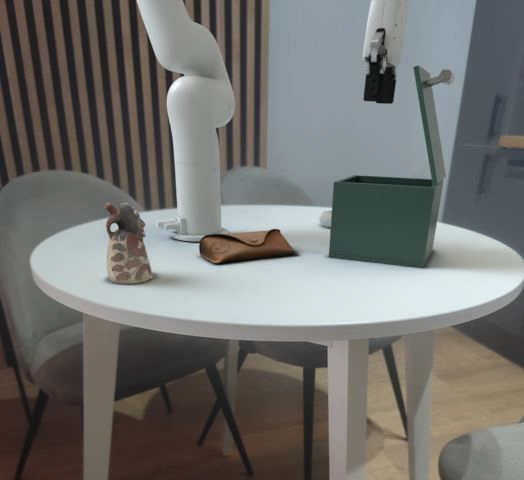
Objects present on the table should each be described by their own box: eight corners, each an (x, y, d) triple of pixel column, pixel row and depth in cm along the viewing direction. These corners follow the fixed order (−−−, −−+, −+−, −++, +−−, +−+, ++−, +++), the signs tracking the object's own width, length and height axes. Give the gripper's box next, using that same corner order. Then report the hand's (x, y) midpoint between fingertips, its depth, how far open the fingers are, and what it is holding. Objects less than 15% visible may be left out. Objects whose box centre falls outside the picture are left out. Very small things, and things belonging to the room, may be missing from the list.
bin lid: (413, 67, 78) (446, 54, 76) (425, 74, 90) (454, 64, 88) (432, 185, 83) (464, 177, 81) (441, 177, 96) (469, 170, 93)
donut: (320, 230, 120) (362, 230, 120) (321, 215, 118) (363, 215, 118) (317, 222, 129) (356, 222, 129) (317, 209, 127) (356, 208, 127)
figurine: (154, 282, 79) (148, 205, 74) (108, 285, 78) (98, 206, 72) (150, 270, 86) (144, 198, 81) (107, 273, 84) (98, 199, 79)
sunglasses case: (216, 263, 88) (208, 227, 89) (204, 274, 95) (196, 240, 95) (301, 252, 96) (293, 219, 97) (284, 263, 103) (276, 232, 103)
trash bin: (328, 257, 96) (333, 181, 90) (348, 242, 108) (353, 175, 102) (422, 267, 89) (434, 187, 83) (432, 250, 101) (443, 179, 96)
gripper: (380, -2, 90) (368, 103, 97) (357, -27, 75) (345, 99, 82) (423, -4, 87) (407, 104, 94) (407, -30, 73) (390, 101, 80)
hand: (378, 102), depth 88 cm, fingers open, 9 cm apart
